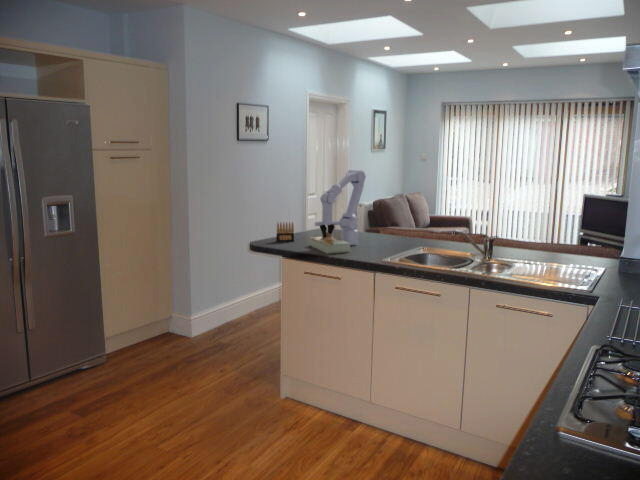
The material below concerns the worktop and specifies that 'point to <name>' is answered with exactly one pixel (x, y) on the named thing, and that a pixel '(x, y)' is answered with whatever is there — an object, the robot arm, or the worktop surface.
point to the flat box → (331, 247)
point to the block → (328, 241)
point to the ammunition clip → (285, 233)
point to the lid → (321, 239)
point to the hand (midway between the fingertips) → (326, 238)
